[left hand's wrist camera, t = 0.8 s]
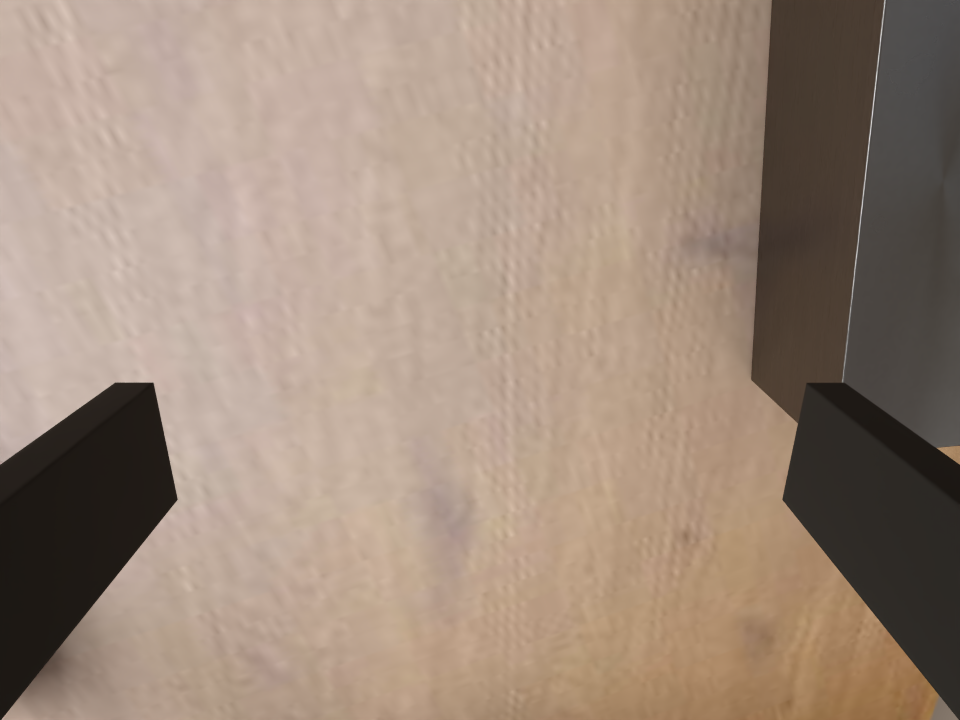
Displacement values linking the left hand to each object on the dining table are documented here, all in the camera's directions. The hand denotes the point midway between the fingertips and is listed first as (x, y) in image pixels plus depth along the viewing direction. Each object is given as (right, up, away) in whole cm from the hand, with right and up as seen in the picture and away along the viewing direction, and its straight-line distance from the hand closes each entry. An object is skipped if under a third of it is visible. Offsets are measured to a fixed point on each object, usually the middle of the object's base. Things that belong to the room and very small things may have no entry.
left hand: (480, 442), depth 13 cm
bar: (+18, +12, +20) cm, 29 cm away
